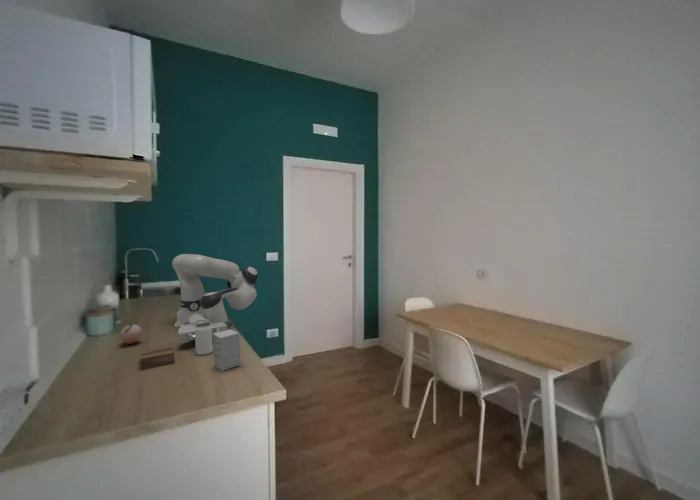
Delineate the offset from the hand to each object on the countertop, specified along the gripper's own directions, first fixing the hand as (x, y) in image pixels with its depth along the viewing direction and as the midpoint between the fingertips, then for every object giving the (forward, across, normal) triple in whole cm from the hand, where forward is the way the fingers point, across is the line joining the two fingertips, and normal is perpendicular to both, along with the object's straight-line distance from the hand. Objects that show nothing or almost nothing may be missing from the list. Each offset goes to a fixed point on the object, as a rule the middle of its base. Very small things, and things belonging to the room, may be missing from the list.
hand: (205, 335), depth 143 cm
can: (+4, +1, -6) cm, 7 cm away
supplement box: (+24, -4, -6) cm, 25 cm away
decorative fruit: (-27, +27, -6) cm, 39 cm away
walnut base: (+4, +18, -6) cm, 20 cm away
